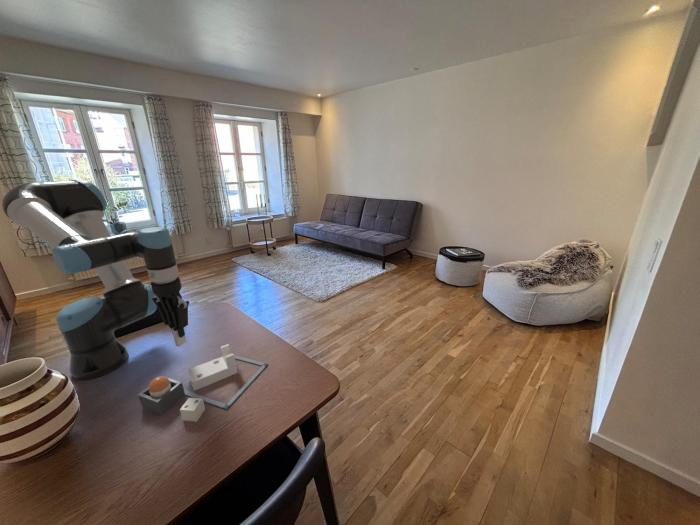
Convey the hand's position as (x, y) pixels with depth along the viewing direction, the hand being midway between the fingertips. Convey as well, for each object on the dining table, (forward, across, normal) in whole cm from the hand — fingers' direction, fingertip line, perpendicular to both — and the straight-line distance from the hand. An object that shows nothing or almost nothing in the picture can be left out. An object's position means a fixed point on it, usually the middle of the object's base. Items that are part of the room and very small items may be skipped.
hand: (181, 343), depth 93 cm
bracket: (+9, +12, 0) cm, 16 cm away
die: (+9, +19, -14) cm, 25 cm away
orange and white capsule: (+8, +7, -14) cm, 17 cm away
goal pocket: (+9, +17, 0) cm, 19 cm away
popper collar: (+9, +7, -14) cm, 18 cm away
